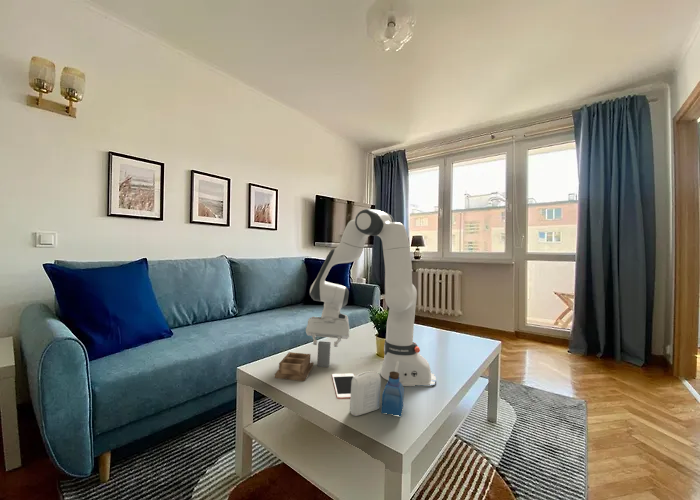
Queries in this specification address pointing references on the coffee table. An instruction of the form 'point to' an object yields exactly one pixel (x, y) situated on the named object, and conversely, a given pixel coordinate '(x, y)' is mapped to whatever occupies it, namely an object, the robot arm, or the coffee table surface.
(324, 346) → the charcoal card
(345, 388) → the cell phone
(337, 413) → the coffee table surface
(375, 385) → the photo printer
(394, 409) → the perfume bottle
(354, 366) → the coffee table surface
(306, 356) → the box
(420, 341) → the coffee table surface
